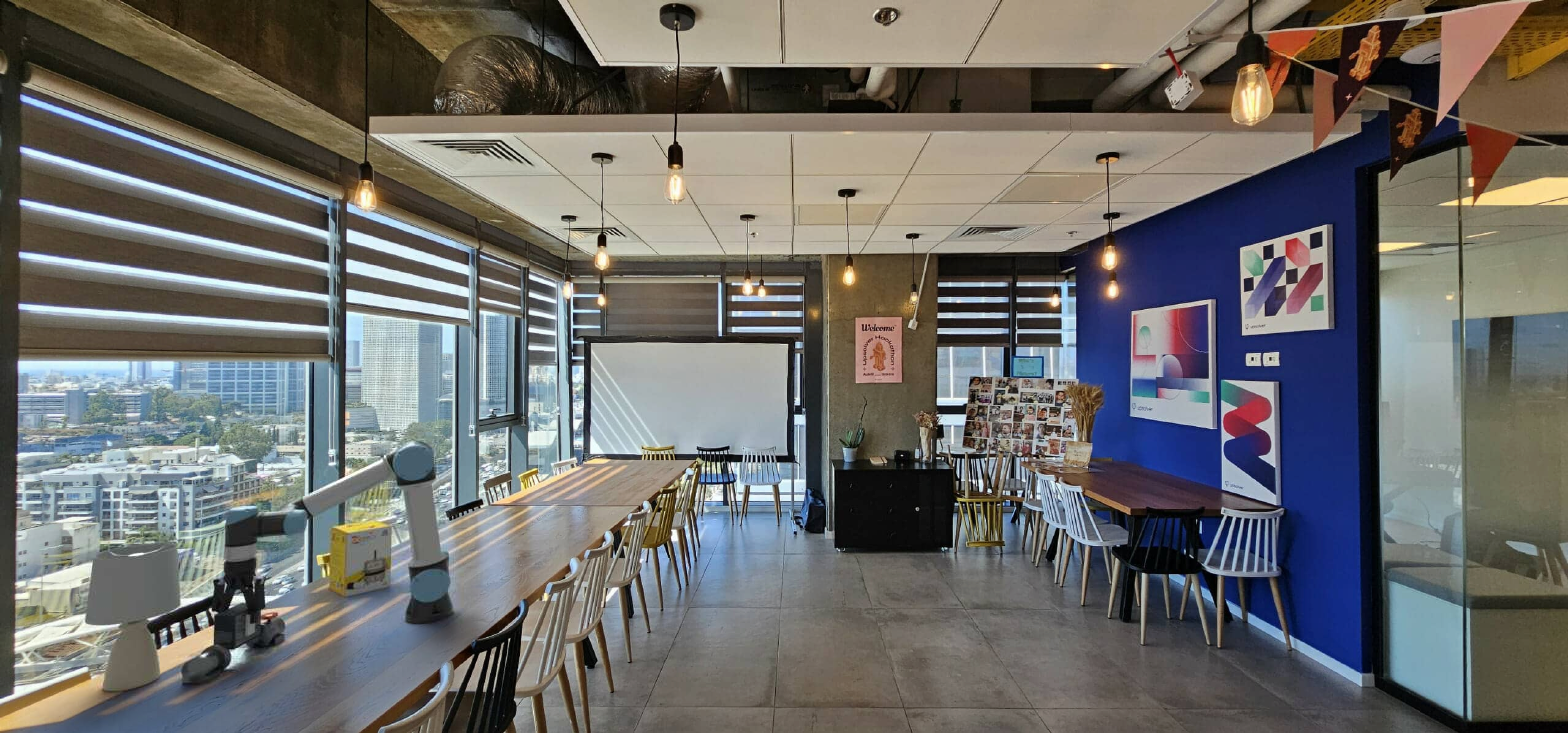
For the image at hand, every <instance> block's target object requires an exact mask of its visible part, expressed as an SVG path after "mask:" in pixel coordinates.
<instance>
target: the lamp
mask: <svg viewBox="0 0 1568 733" xmlns="http://www.w3.org/2000/svg"><path fill="white" fill-rule="evenodd" d="M179 565H180V564H179V551H178V544H176V543H172V542H154V543H153V542H152V543H151V542H150V543H143V544H134V545H125V546H121V547H120V546H119V547H116V548H112V549H107V550H103V551H100V552H97V553H96V554H94V555H93V558H92V564H91V573H90V579H89V580H90V581H89V588H88V595H87V602H86V609H85V617H84V623H85V625H91V626H113V625H118V629H119V630H120V633H119V635H118V636H117V638H116V640H115V642H114V644H113V646H112V648H111V650H110V653H109V657H108V659H107V665H106V667H105V672H104V677H103V683H102V688H103V690H104V691H105V692H110V693H111V691H112V693H113V692H114V691H116V692H124V691H129V690H133V689H137V688H141V687H143V686H146V685H148V684H150V683H153V682H154V681H156V680H157V679H158V678H159V677H160V676H161V668H160V660H159V655H158V650H157V645H156V641H155V640H154V637H153V635H152V633H151V632H150V630H149V629H148V627H147V626H148V624H149V623H150V620H149V619H151V618H155V617H160V616H162V615H165V614H168V613H170V612H173V611H174V610H176V609H178V608H179V607H181V605H182V604H181V602H182V601H181V586H180V584H181V583H180V569H179ZM159 675H160V676H159ZM114 693H115V692H114Z"/></svg>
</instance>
